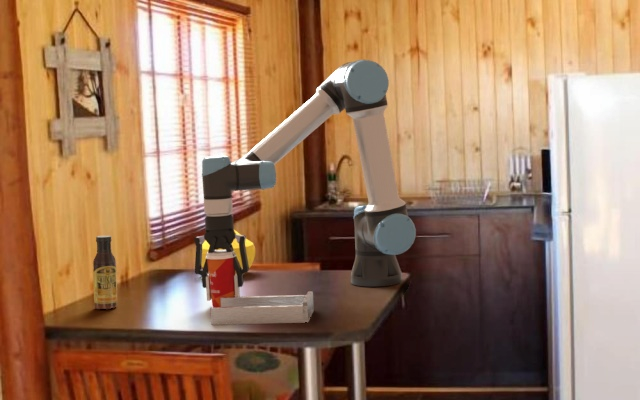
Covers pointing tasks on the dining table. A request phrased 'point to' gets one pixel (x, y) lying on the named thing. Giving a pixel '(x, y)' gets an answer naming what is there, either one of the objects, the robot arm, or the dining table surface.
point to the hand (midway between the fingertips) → (223, 299)
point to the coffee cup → (221, 275)
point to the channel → (263, 309)
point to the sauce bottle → (104, 275)
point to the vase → (249, 250)
